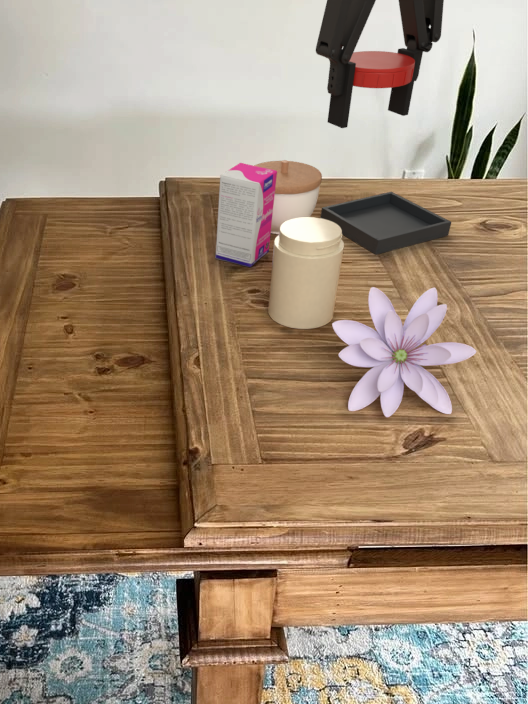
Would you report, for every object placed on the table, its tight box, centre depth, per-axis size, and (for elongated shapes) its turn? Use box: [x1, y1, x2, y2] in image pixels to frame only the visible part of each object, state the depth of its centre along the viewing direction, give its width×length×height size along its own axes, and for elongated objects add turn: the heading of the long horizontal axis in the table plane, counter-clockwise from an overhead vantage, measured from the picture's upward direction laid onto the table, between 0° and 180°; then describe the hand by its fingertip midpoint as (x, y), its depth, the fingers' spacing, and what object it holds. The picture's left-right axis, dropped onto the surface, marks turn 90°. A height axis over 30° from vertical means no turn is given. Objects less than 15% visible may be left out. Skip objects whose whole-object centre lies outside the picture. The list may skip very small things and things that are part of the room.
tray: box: [320, 191, 452, 255], centre depth 108 cm, size 13×13×2 cm
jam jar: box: [267, 216, 345, 330], centre depth 87 cm, size 8×8×11 cm
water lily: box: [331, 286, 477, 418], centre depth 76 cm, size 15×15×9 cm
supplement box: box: [214, 162, 277, 268], centre depth 98 cm, size 6×6×12 cm
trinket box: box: [253, 159, 323, 235], centre depth 106 cm, size 11×11×9 cm
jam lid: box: [350, 50, 415, 89], centre depth 82 cm, size 8×8×2 cm
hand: (368, 118), depth 86 cm, fingers closed on jam lid, 8 cm apart
